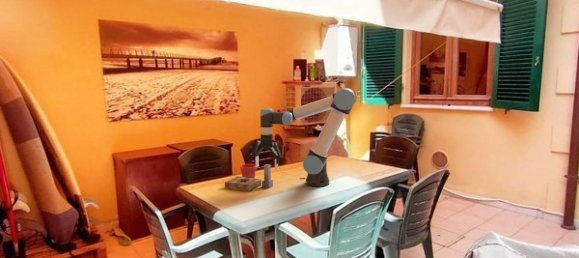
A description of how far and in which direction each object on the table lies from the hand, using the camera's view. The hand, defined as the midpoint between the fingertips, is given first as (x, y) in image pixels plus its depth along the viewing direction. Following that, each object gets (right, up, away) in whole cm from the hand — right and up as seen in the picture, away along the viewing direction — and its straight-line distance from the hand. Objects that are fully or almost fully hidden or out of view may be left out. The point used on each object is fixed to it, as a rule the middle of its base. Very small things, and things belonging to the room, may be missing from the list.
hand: (266, 167), depth 214 cm
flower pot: (-13, -10, +19) cm, 25 cm away
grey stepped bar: (+1, -12, +1) cm, 12 cm away
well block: (-15, -12, +2) cm, 19 cm away
